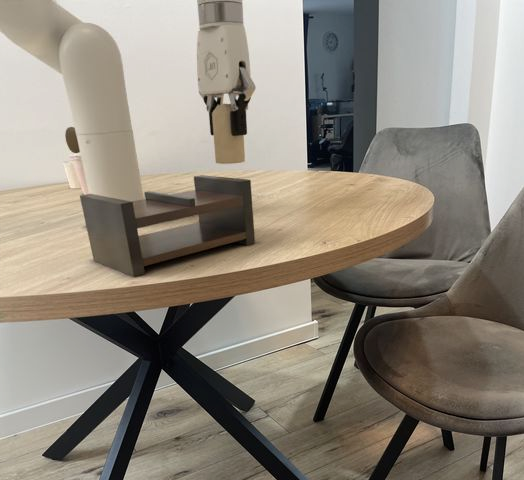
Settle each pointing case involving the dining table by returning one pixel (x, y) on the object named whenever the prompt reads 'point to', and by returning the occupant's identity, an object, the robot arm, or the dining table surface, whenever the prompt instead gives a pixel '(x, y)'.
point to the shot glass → (71, 175)
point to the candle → (226, 137)
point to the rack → (163, 210)
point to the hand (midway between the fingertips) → (228, 134)
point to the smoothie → (79, 171)
